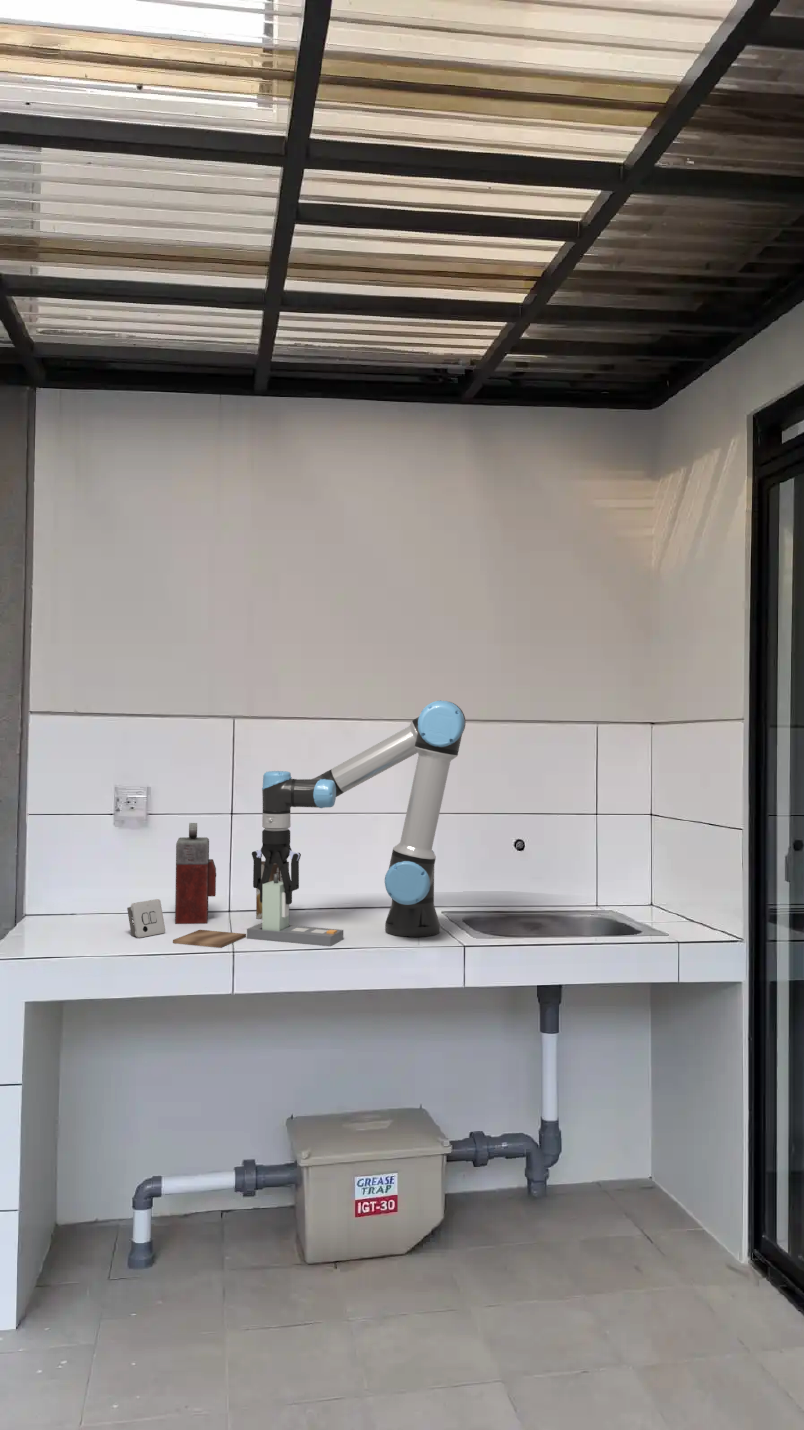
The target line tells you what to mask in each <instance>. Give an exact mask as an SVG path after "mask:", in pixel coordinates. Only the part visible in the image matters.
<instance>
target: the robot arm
mask: <svg viewBox="0 0 804 1430" xmlns="http://www.w3.org/2000/svg"><path fill="white" fill-rule="evenodd" d="M465 729H466V717H465V713H464V712H463V709H462V708H460V706H458V705H457V704H456V703H454V702H452V701H448V700H436V701H433V702H430V703H429V704H426V706H425V707H423V709H422V710H421V712H420V714H419V716H418V717H416V718H414V719H412V720H411V721H410V724H409V725H408V726H407V727H405V728H404V729H402V730H400V731H398V732H396V733H395V734H392V735H391V736H389V737H387V738H385V739H383V740H382V741H379V742H378V743H376V744H374V745H372V746H371V747H369V748H367V749H366V750H364V751H361V752H360V753H357V754H356V755H354V756H352V757H351V758H349V759H347V760H346V761H344V762H341V763H340V764H337V766H334V767H333V768H330V769H329V770H327V771H325V772H323V773H321V774H319V775H318V776H316V777H314V778H309V779H308V778H307V779H306V778H302V779H301V778H299V779H297V778H292V775H291V772H290V771H284V770H271V771H270V770H269V771H266V772H264V774H263V775H262V777H263V778H262V788H261V793H262V794H261V795H262V812H261V813H262V818H261V819H262V820H261V821H262V828H263V829H262V831H261V832H262V833H261V838H262V839H261V843H262V846H261V848H260V849H258V850H254V851H252V852H251V857H252V860H253V870H252V871H253V876H252V878H253V879H252V880H253V881H252V887H253V888H254V889H256V888H257V889H259V890H260V902H261V903H262V899H263V884H265V883H267V882H269V878H270V874H271V870H272V866H273V865H274V863H275V864H278V866H279V868H280V871H281V876H282V880H283V884H284V889H285V891H284V892H283V893H282V917H287V916H289V917H290V905H291V904H293V892H295V891H297V890H299V888H300V860H301V855H302V854H301V853H300V852H295V851H294V850H292V848H291V830H290V828H291V825H292V823H291V814H292V813H291V808H319V809H325V808H333V807H334V806H335V803H336V798H337V797H339V796H341V795H343V794H344V793H346V792H348V791H349V790H352V789H353V788H356V787H358V786H359V785H361V784H363V783H364V782H367V781H369V780H370V779H372V778H373V777H375V776H378V775H380V774H382V773H383V772H386V771H387V770H389V769H391V768H392V767H394V766H395V765H398V764H400V763H401V762H403V761H405V760H407V759H409V758H410V757H412V756H414V755H417V754H418V756H417V762H416V764H415V765H416V766H415V771H414V775H413V780H412V783H411V784H412V786H411V789H410V796H409V799H408V803H407V808H406V813H405V818H404V822H403V827H402V831H401V837H400V842H398V844H396V845H395V846H393V848H392V852H391V855H390V856H391V858H390V859H389V860H390V862H389V865H388V870H387V871H386V873H385V874H384V887H385V891H386V893H387V894H388V896H389V897H390V898H391V905H390V908H389V911H388V914H387V917H386V920H385V924H384V925H385V926H384V928H385V929H384V930H385V931H384V932H385V933H387V934H390V935H393V936H397V937H398V936H400V937H407V936H410V938H411V937H413V938H415V937H416V938H419V937H421V938H422V937H430V936H434V935H437V934H439V933H440V928H441V926H440V925H441V924H440V921H439V920H440V919H439V917H438V914H437V910H436V907H435V863H436V860H437V856H436V854H435V851H433V845H434V841H435V836H436V831H437V826H438V822H439V819H440V818H439V817H440V812H441V809H442V804H443V800H444V799H443V798H444V794H445V789H446V783H447V780H448V775H449V771H450V765H451V763H452V761H453V760H454V759H456V758H457V757H458V755H459V751H460V746H461V742H462V737H463V733H464V732H465ZM262 857H264V858H265V859H264V861H265V864H264V871H263V875H262V879H261V864H262V861H263V860H262ZM289 858H290V860H291V861H290V869H289V870H288V862H289V861H288V859H289Z"/></svg>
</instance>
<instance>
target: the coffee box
mask: <svg viewBox="0 0 804 1430" xmlns="http://www.w3.org/2000/svg"><path fill="white" fill-rule="evenodd" d="M287 862H288V870H289V871H290V861H287ZM264 864H265V860H262V864H261V879H262V875H263V871H264ZM274 874H278V881H283V880H282V876H281V871H280V868H279V866H278V864H275V863H274V865H273V866H272V870H271V874H270V878H269V882H270V881H274ZM255 890H256V891H255V892H256V893H255V895H256V896H255V900H256V907H255V908H256V909H255V910H256V913H255V914H256V915H255V916H256V917H255V918H256V920H262V903H261V902H260V890H259V889H257V888H255Z"/></svg>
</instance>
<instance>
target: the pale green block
mask: <svg viewBox="0 0 804 1430" xmlns="http://www.w3.org/2000/svg"><path fill="white" fill-rule="evenodd" d="M284 891H285V889H284V884H283V881H278V874H274V881H270V882H267V883H265V884H263V899H262V919H261V920H262V921H261V923H262V930H273V931H281V930H283V929H285V928H288V927H289V925H290V915H289V916H287V917H282V893H283V892H284Z"/></svg>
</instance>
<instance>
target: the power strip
mask: <svg viewBox="0 0 804 1430" xmlns="http://www.w3.org/2000/svg"><path fill="white" fill-rule="evenodd" d="M246 939H251V940H260V941H261V940H262V941H272V942H283V943H290V944H291V943H293V944H294V943H295V944H303V945H315V946H326V947H331V946H333V945H335V944H337V943H339V942H341V941H343V940H344V929H339V928H326V927H325V928H324V927H318V926H317V927H314V926H303V925H291V924H289V927H288V928H285V929H283V930H281V931H273V930H262V922H260V923H258V924H255V925H253V926H251V927H248V928H246Z"/></svg>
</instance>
